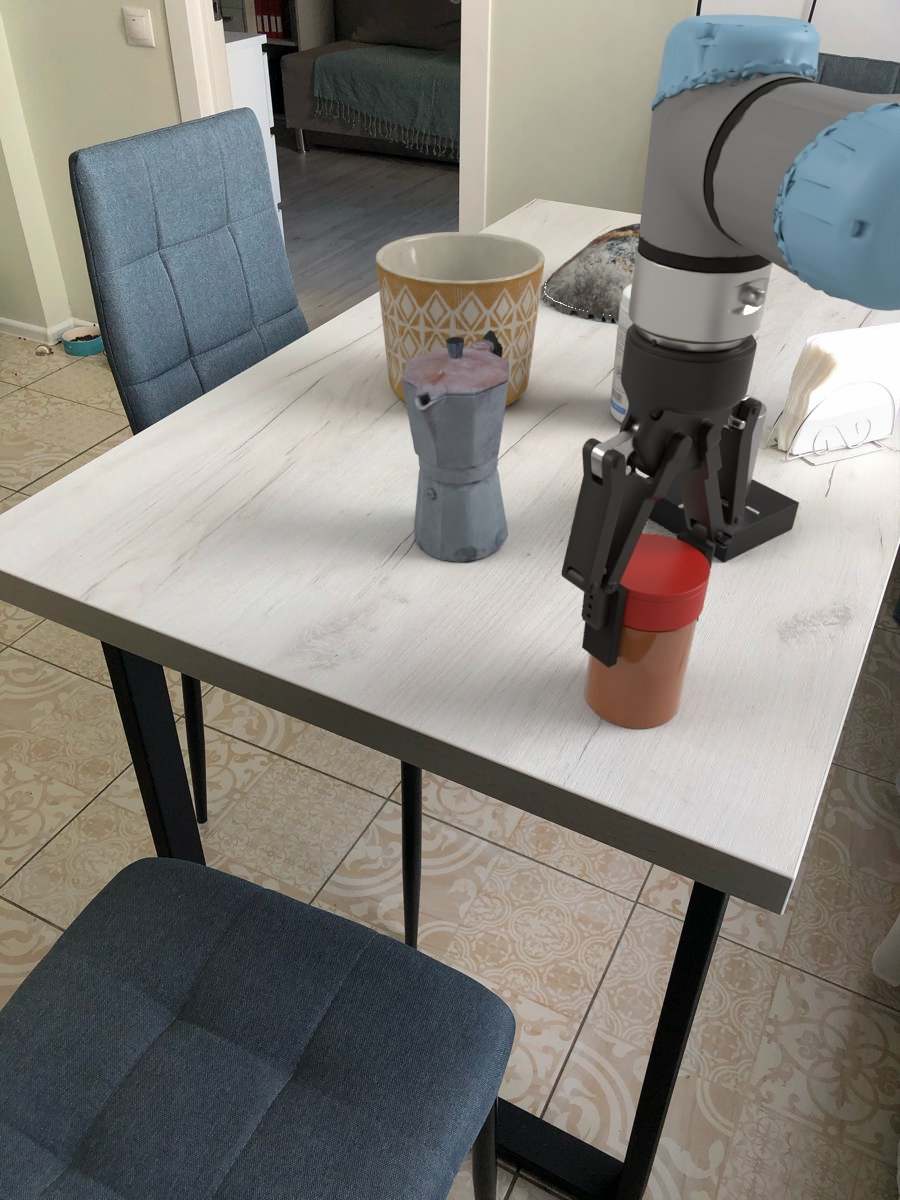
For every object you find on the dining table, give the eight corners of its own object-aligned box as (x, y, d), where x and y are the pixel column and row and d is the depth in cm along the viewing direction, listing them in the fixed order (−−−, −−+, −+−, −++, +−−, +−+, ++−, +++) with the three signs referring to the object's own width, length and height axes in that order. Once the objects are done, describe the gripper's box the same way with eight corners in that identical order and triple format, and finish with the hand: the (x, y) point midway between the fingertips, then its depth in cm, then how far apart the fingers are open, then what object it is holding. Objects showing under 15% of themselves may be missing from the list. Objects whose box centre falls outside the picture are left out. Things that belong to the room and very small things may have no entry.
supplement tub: (700, 410, 113) (722, 287, 104) (674, 441, 106) (695, 313, 97) (624, 393, 117) (640, 273, 108) (595, 422, 110) (608, 297, 101)
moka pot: (379, 565, 86) (369, 355, 74) (445, 488, 97) (446, 295, 85) (476, 589, 83) (482, 374, 71) (532, 507, 94) (546, 310, 82)
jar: (699, 703, 71) (727, 578, 64) (632, 742, 68) (653, 616, 61) (631, 654, 76) (650, 533, 69) (565, 688, 72) (577, 565, 65)
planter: (565, 405, 114) (577, 266, 104) (422, 437, 106) (420, 291, 97) (488, 350, 127) (492, 224, 118) (357, 376, 120) (349, 243, 110)
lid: (610, 557, 70) (615, 523, 69) (713, 581, 68) (720, 546, 66) (579, 614, 65) (583, 578, 63) (690, 643, 62) (697, 606, 60)
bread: (770, 328, 135) (785, 257, 129) (544, 324, 136) (548, 253, 130) (729, 269, 157) (741, 206, 151) (535, 266, 158) (538, 204, 152)
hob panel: (793, 528, 91) (800, 500, 89) (723, 563, 86) (729, 534, 85) (699, 479, 99) (704, 452, 97) (630, 508, 94) (634, 480, 92)
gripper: (609, 392, 47) (570, 721, 61) (854, 311, 57) (773, 609, 71) (514, 346, 52) (498, 660, 66) (755, 278, 62) (698, 564, 76)
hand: (641, 633), depth 68 cm, fingers closed on lid, 8 cm apart
